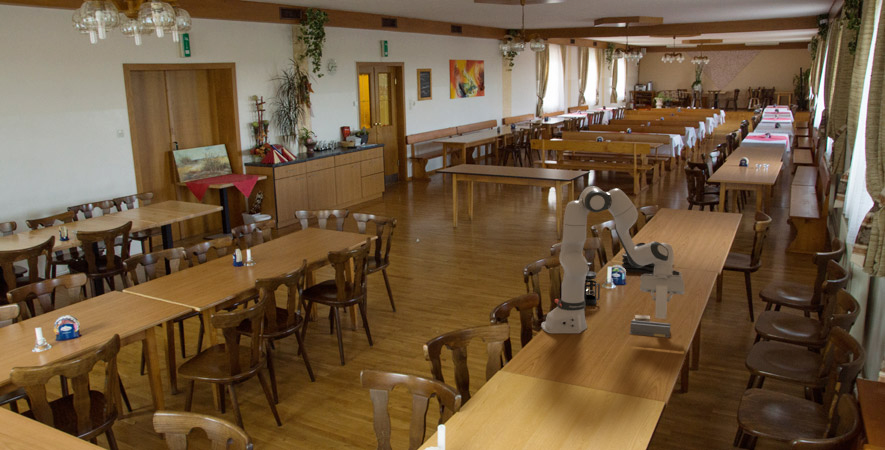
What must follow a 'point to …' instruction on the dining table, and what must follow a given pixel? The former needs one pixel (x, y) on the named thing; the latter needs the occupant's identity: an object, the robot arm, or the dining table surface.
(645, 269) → the container
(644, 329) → the rack
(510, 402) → the dining table surface
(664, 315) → the plank
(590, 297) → the french press
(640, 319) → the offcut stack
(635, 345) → the dining table surface
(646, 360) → the dining table surface
